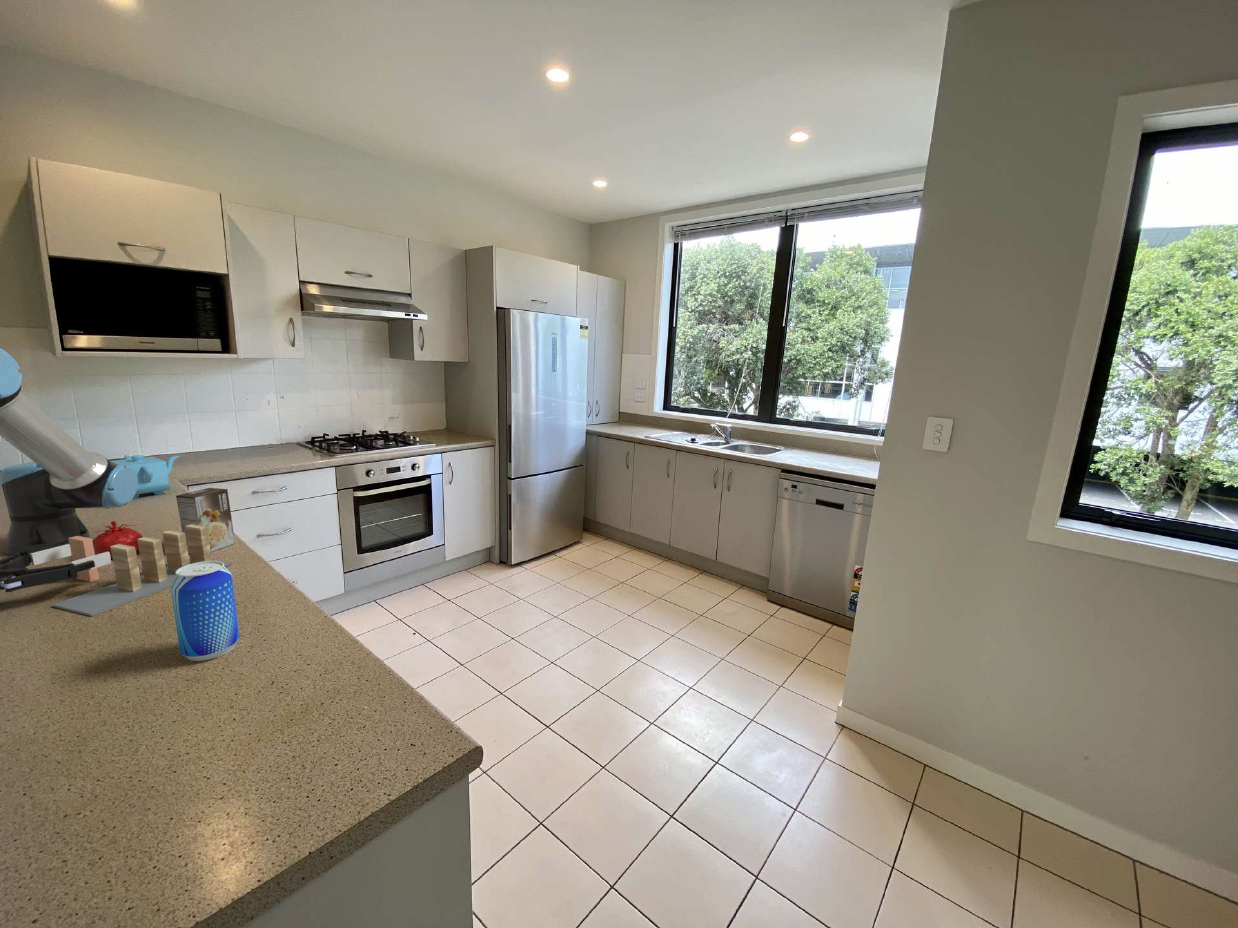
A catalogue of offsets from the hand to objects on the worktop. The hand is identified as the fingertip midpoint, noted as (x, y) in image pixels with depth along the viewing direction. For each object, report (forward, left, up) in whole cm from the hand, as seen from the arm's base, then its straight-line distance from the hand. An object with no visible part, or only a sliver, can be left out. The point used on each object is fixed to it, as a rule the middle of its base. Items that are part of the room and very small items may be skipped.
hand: (89, 553), depth 116 cm
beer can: (+56, -13, -6) cm, 58 cm away
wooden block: (+16, +13, -5) cm, 21 cm away
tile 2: (+16, -2, -5) cm, 17 cm away
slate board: (+16, +2, -6) cm, 17 cm away
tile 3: (+16, +3, -5) cm, 17 cm away
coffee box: (+6, +22, -6) cm, 24 cm away
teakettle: (-71, +52, -6) cm, 89 cm away
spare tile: (0, -1, -6) cm, 6 cm away
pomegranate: (-10, +11, -6) cm, 16 cm away
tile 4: (+16, +8, -5) cm, 19 cm away
